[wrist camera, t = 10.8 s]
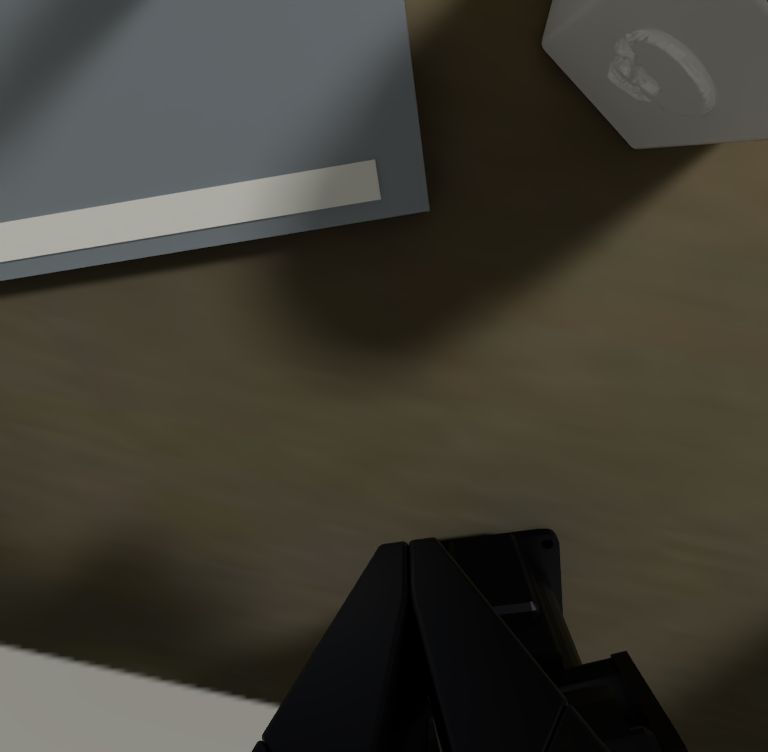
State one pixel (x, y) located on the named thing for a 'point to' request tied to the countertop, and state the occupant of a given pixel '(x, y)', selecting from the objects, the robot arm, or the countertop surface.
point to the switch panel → (198, 125)
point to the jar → (667, 66)
